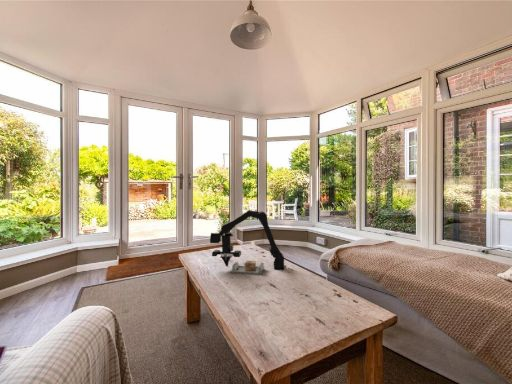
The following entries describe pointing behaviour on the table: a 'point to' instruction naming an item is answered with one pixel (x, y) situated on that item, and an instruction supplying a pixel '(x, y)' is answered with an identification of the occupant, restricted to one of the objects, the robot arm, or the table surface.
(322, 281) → the table surface
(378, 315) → the table surface
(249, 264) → the block
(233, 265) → the block
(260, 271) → the base
